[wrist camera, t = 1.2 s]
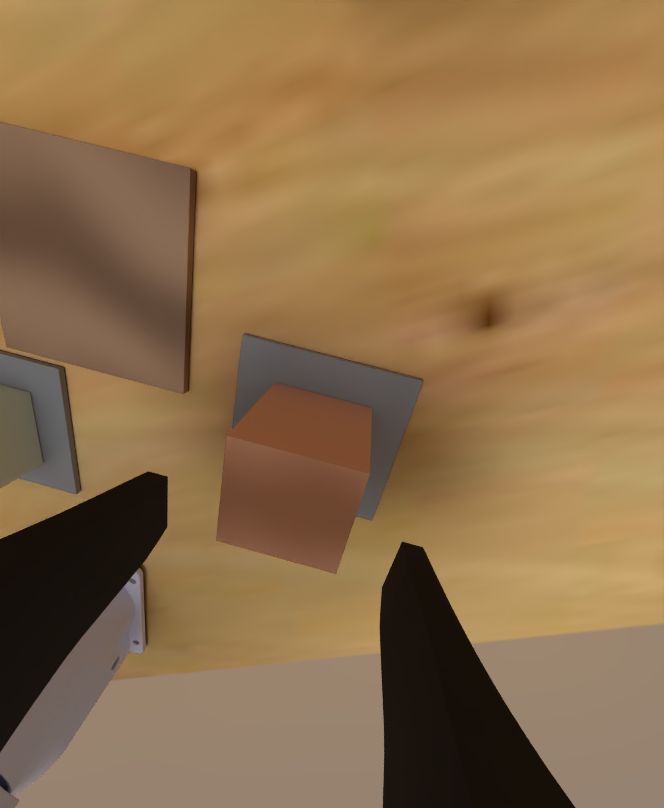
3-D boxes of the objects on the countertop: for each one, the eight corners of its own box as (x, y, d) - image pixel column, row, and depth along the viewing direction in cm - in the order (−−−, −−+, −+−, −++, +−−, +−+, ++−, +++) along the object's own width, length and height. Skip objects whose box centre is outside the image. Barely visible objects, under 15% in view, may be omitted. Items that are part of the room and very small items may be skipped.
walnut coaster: (188, 391, 15) (183, 394, 15) (15, 345, 16) (6, 347, 15) (196, 171, 12) (190, 168, 11) (-30, 116, 12) (-43, 112, 12)
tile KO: (371, 516, 17) (371, 521, 16) (229, 477, 17) (226, 481, 17) (422, 379, 14) (423, 381, 13) (244, 333, 14) (241, 334, 13)
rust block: (347, 486, 16) (335, 573, 11) (262, 463, 16) (216, 540, 11) (372, 407, 14) (369, 473, 9) (275, 382, 14) (226, 435, 10)
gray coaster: (80, 491, 19) (75, 495, 19) (-43, 456, 19) (-50, 460, 19) (63, 367, 16) (57, 369, 15) (-85, 327, 16) (-94, 329, 16)
